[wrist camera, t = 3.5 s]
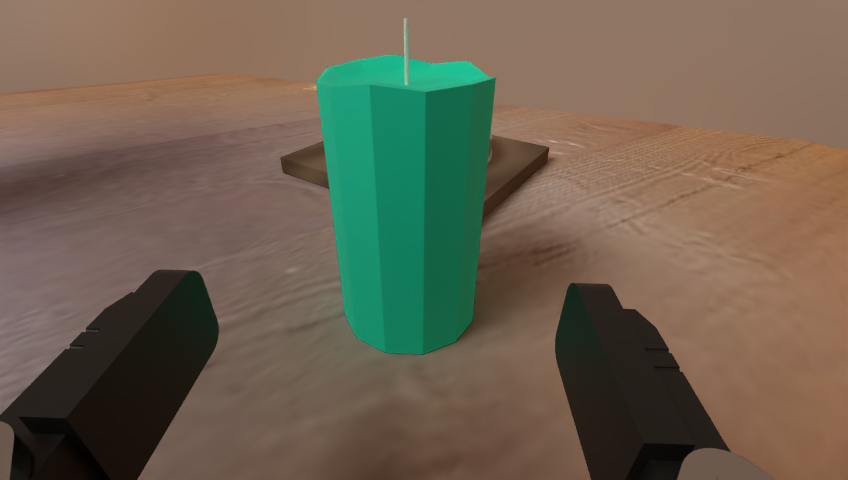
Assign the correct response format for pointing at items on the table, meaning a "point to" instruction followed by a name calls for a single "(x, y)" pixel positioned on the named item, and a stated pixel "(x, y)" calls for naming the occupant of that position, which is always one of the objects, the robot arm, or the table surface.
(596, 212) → the table surface
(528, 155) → the holder
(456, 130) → the candle
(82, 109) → the table surface
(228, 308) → the table surface
